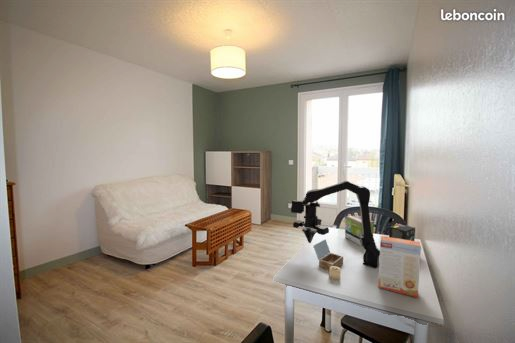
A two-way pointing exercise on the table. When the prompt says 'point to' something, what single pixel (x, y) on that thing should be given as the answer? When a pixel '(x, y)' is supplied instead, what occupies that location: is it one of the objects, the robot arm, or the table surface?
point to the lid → (321, 249)
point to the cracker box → (399, 265)
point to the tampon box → (402, 232)
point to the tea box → (355, 228)
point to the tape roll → (334, 272)
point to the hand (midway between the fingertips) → (309, 242)
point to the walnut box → (330, 261)
